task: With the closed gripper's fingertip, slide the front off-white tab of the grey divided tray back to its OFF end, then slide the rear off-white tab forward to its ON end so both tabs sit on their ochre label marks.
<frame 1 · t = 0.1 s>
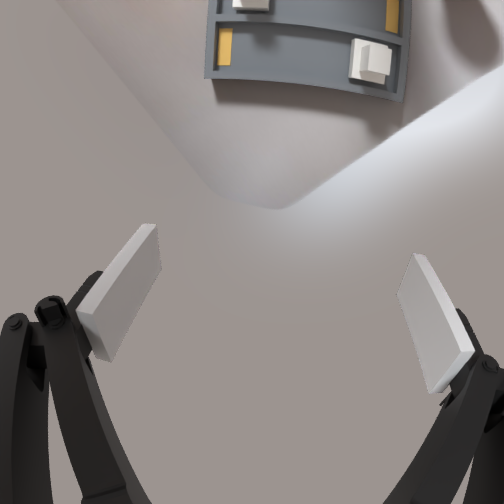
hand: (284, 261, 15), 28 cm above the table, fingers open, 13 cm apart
tab b: (372, 60, 27), point 5 cm above the table, slide at 14.0 cm
grey divided tray: (309, 27, 30), on the table
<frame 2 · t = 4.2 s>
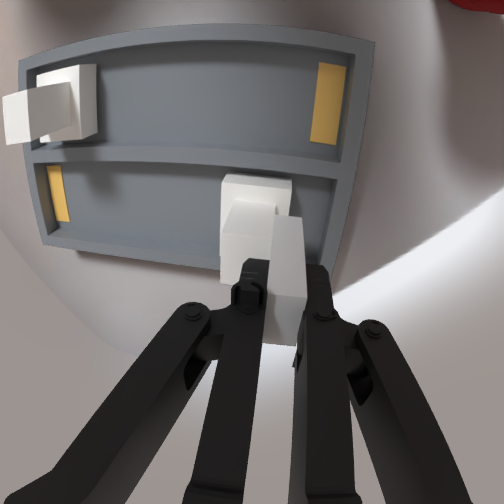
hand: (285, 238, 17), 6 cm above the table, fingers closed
tab b: (251, 232, 18), point 5 cm above the table, slide at 13.4 cm, touching gripper
grey divided tray: (174, 141, 20), on the table
tab a: (47, 108, 14), point 5 cm above the table, slide at 0.0 cm
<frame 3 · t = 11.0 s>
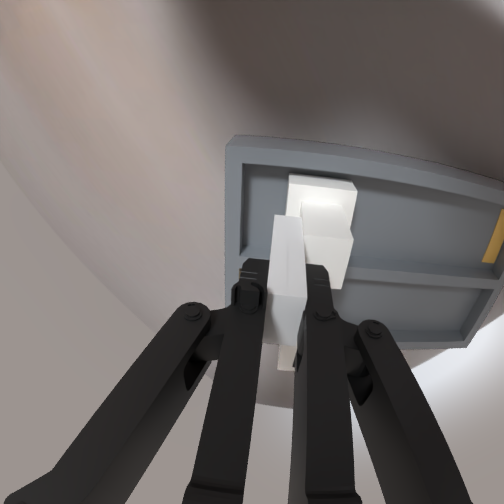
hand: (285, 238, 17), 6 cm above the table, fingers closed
tab b: (298, 325, 21), point 5 cm above the table, slide at 0.6 cm
grey divided tray: (380, 250, 23), on the table
tab a: (319, 234, 17), point 5 cm above the table, slide at 0.8 cm, touching gripper
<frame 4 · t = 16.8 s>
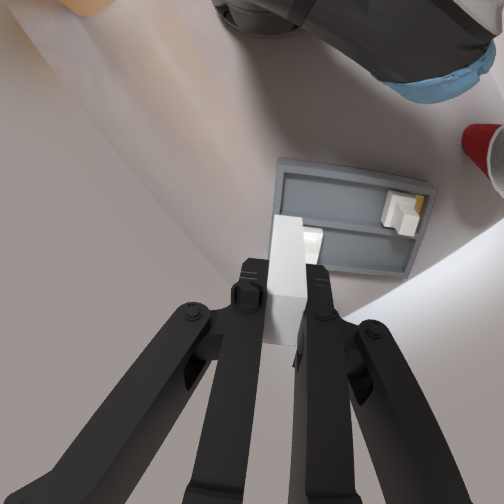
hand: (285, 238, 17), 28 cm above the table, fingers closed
tab b: (307, 250, 44), point 5 cm above the table, slide at 0.6 cm
grey divided tray: (349, 216, 46), on the table
plastic cup: (474, 139, 36), on the table
tab a: (402, 215, 39), point 5 cm above the table, slide at 13.4 cm
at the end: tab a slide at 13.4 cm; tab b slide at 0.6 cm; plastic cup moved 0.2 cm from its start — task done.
